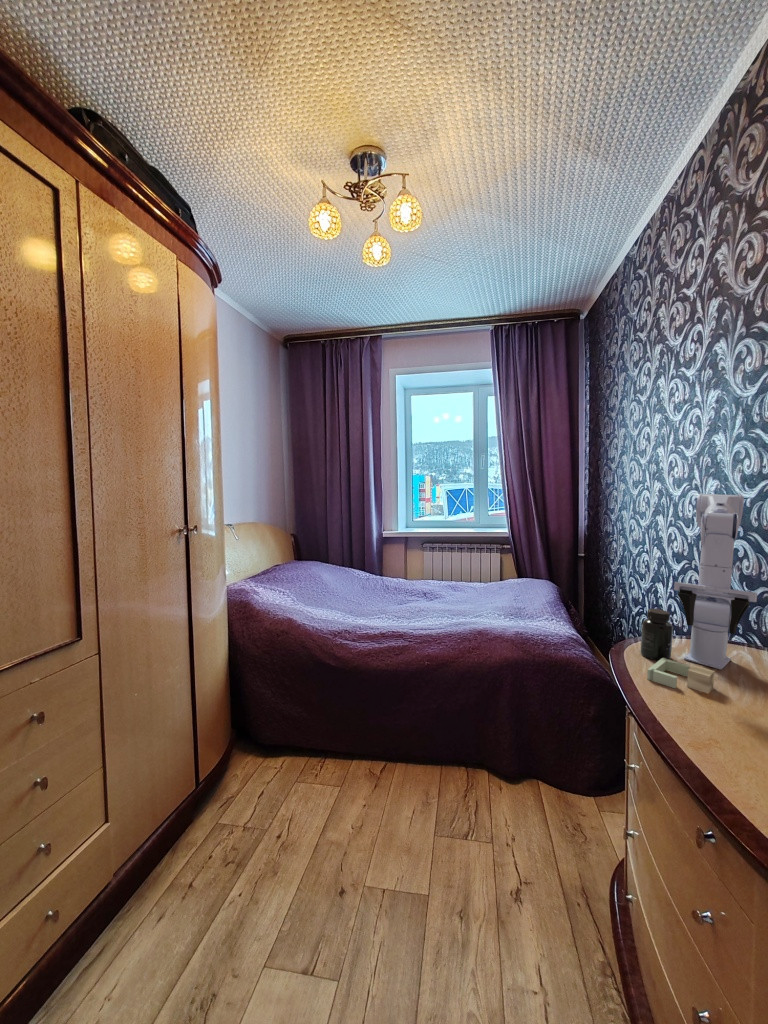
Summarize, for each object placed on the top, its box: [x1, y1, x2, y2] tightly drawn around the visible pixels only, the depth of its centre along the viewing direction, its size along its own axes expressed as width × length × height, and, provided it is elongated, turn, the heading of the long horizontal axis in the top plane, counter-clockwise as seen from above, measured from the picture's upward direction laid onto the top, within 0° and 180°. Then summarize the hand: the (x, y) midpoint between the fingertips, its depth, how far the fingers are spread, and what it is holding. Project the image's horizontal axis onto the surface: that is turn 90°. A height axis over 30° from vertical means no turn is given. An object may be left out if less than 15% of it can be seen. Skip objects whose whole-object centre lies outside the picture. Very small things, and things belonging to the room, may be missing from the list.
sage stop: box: [646, 658, 690, 689], centre depth 104 cm, size 10×6×2 cm, turn 131°
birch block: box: [686, 664, 715, 695], centre depth 100 cm, size 4×4×4 cm
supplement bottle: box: [640, 608, 674, 662], centre depth 116 cm, size 7×7×12 cm
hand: (710, 629), depth 97 cm, fingers open, 7 cm apart
